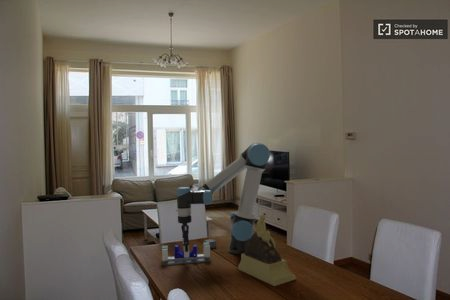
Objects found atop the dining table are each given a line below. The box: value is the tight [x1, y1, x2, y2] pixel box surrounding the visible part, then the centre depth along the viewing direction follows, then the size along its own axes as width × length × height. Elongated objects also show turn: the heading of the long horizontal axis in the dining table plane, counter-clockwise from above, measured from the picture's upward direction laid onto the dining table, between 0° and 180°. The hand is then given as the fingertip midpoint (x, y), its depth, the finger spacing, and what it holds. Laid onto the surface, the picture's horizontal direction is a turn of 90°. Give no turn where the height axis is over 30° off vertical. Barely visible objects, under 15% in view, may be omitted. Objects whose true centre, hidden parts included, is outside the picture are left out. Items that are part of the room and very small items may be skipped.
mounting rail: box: [162, 253, 212, 267], centre depth 214 cm, size 26×12×2 cm, turn 99°
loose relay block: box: [203, 238, 217, 250], centre depth 239 cm, size 5×6×4 cm
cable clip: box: [173, 244, 198, 258], centre depth 214 cm, size 12×4×6 cm, turn 84°
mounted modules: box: [161, 242, 211, 262], centre depth 214 cm, size 26×7×6 cm, turn 99°
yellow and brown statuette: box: [237, 214, 296, 287], centre depth 188 cm, size 28×13×30 cm, turn 33°
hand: (186, 253), depth 214 cm, fingers open, 13 cm apart
